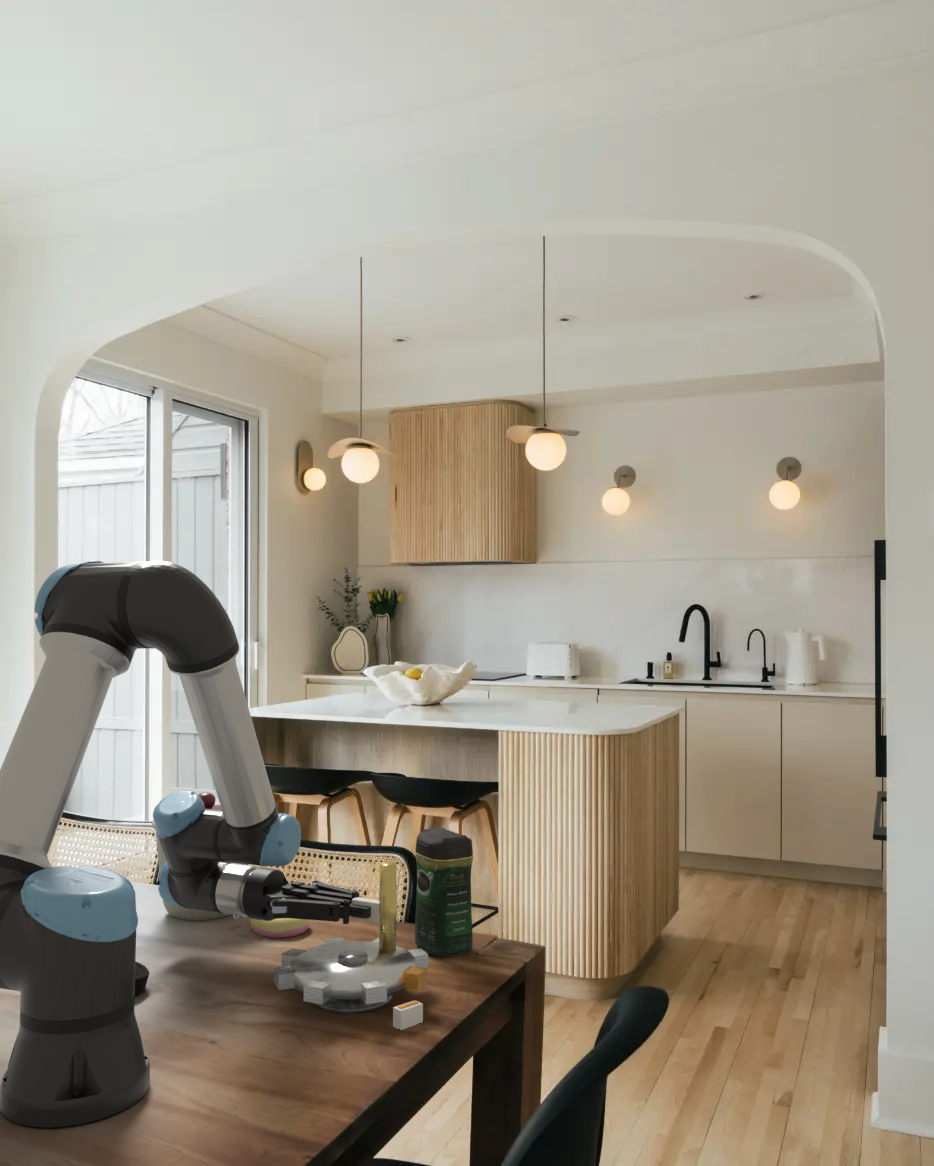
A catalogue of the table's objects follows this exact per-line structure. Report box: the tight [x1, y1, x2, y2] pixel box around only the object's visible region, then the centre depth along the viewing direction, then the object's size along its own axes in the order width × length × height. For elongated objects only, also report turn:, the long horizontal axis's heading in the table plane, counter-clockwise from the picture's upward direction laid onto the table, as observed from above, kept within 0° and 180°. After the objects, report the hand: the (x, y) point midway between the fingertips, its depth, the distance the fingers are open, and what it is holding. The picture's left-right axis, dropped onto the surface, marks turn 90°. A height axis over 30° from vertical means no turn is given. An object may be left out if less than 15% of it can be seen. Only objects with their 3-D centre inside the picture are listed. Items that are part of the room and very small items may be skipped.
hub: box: [312, 992, 394, 1015], centre depth 135 cm, size 11×11×3 cm
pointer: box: [392, 999, 424, 1031], centre depth 126 cm, size 4×2×3 cm, turn 133°
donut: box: [250, 918, 311, 939], centre depth 165 cm, size 10×5×9 cm
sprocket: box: [273, 861, 429, 1004], centre depth 135 cm, size 21×21×14 cm
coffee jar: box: [414, 827, 474, 957], centre depth 156 cm, size 10×8×19 cm
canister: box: [151, 792, 249, 921], centre depth 175 cm, size 18×18×21 cm
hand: (393, 913), depth 142 cm, fingers closed
